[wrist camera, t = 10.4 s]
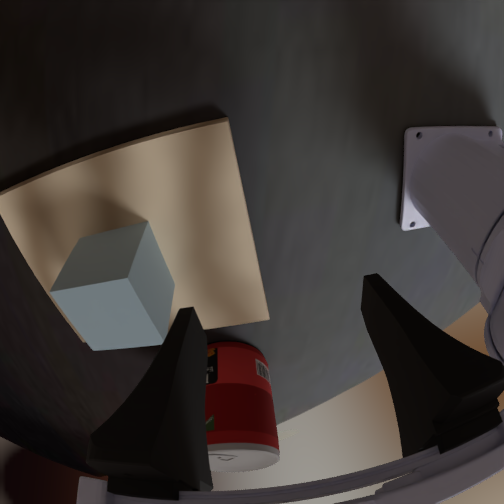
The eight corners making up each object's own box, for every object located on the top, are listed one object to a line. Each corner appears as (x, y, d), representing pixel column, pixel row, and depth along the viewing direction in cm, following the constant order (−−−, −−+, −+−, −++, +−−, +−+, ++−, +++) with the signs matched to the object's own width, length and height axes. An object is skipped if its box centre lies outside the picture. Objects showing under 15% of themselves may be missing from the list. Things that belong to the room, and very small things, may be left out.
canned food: (199, 332, 28) (197, 446, 19) (280, 346, 30) (297, 450, 21) (182, 373, 32) (179, 468, 23) (251, 384, 34) (260, 473, 25)
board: (227, 116, 17) (227, 121, 16) (268, 308, 27) (269, 319, 26) (1, 191, 18) (-7, 199, 17) (86, 332, 28) (83, 342, 27)
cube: (148, 220, 19) (127, 277, 15) (175, 284, 23) (165, 344, 18) (79, 238, 20) (49, 292, 15) (111, 294, 23) (93, 350, 19)
